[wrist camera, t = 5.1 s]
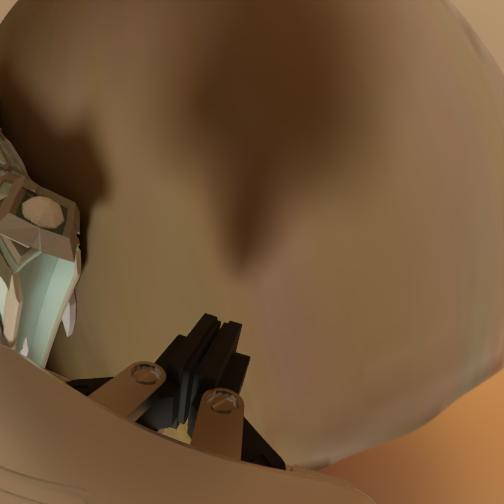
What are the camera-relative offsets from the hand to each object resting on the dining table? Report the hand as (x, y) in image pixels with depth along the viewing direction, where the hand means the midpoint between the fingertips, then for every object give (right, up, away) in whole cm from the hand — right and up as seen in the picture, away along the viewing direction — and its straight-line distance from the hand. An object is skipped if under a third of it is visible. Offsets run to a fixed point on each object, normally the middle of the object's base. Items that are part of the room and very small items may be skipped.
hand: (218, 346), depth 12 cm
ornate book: (-24, +7, +8) cm, 26 cm away
